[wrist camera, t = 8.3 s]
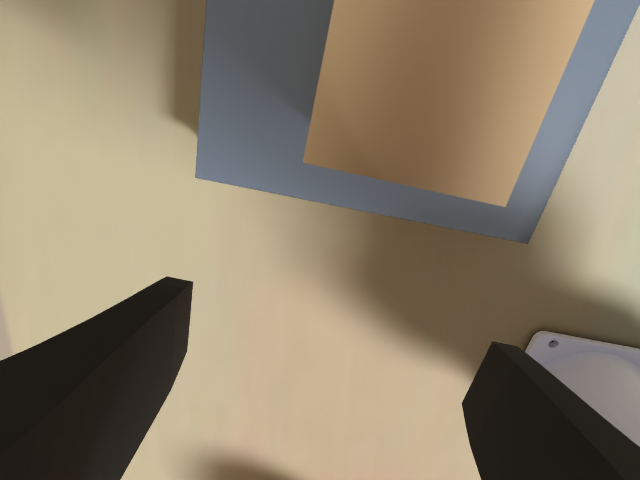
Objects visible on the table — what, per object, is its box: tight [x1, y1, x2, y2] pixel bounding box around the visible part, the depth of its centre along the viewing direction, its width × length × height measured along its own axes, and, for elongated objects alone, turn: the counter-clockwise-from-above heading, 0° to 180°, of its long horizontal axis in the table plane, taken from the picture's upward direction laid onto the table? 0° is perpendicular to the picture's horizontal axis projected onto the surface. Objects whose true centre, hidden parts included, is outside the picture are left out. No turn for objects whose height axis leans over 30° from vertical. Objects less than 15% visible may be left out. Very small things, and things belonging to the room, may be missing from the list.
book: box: [195, 0, 640, 244], centre depth 15 cm, size 14×11×3 cm
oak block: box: [303, 0, 595, 207], centre depth 11 cm, size 5×5×6 cm
